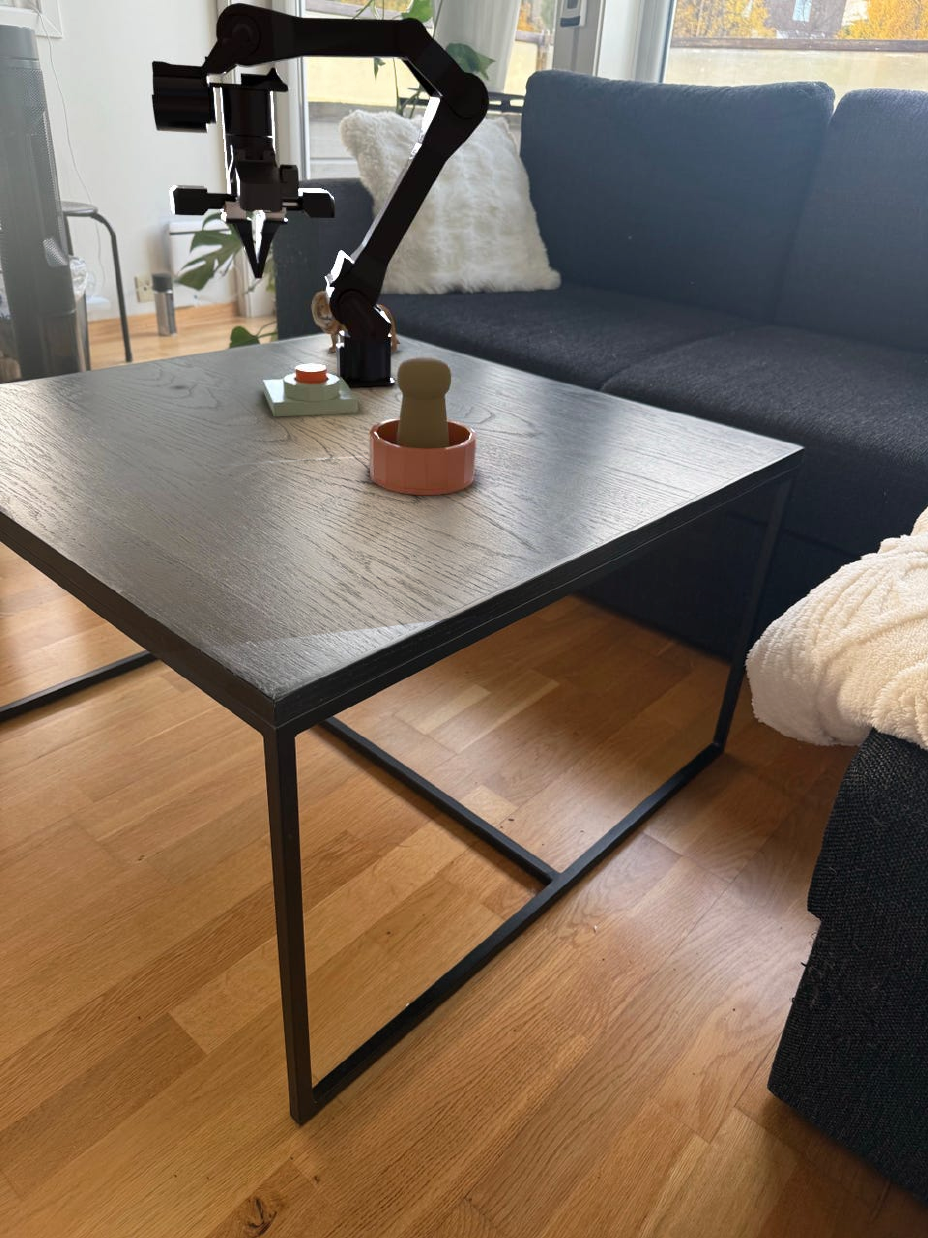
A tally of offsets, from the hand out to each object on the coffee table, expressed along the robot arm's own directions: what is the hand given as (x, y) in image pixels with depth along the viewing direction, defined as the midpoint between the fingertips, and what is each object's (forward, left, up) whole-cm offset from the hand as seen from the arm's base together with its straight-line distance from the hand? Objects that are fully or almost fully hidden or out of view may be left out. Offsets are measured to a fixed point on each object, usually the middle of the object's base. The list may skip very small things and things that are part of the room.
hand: (257, 278), depth 110 cm
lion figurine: (-15, -15, -13) cm, 25 cm away
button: (-4, +12, -10) cm, 16 cm away
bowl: (-11, +37, -13) cm, 41 cm away
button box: (-4, +10, -13) cm, 17 cm away
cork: (-11, +37, -13) cm, 41 cm away
